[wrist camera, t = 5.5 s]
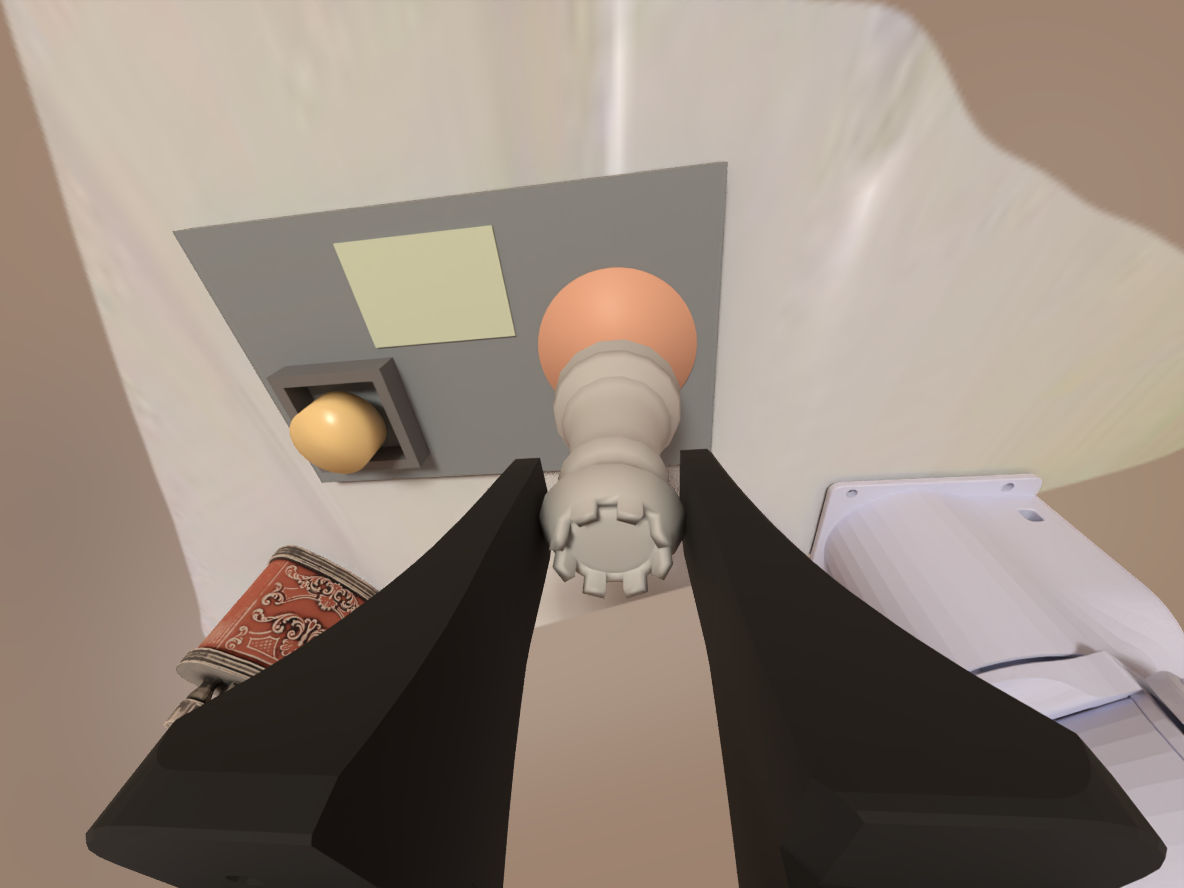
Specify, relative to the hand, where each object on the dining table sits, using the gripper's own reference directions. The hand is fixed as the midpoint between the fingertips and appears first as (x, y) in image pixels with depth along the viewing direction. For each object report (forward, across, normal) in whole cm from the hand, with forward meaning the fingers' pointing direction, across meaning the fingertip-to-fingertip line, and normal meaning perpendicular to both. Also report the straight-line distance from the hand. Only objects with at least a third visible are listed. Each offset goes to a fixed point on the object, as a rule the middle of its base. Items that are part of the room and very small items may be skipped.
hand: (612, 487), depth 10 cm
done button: (+8, +12, +2) cm, 14 cm away
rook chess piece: (+6, 0, +1) cm, 6 cm away
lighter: (+10, +20, +15) cm, 27 cm away
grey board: (+9, +6, 0) cm, 11 cm away
